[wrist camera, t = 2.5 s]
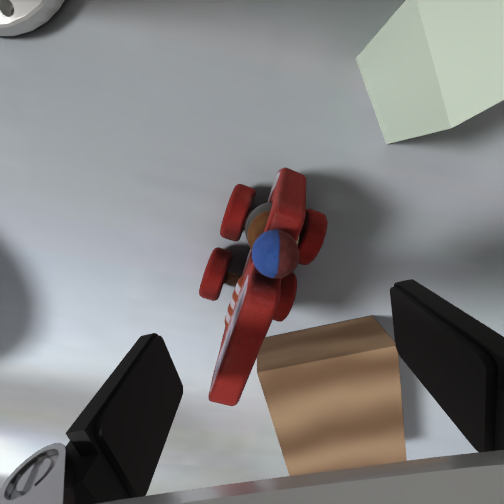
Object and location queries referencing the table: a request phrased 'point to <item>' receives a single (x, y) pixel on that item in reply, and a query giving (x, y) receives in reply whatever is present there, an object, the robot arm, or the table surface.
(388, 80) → the sage cube
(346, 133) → the table surface
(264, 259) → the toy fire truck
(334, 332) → the tan block
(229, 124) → the table surface
